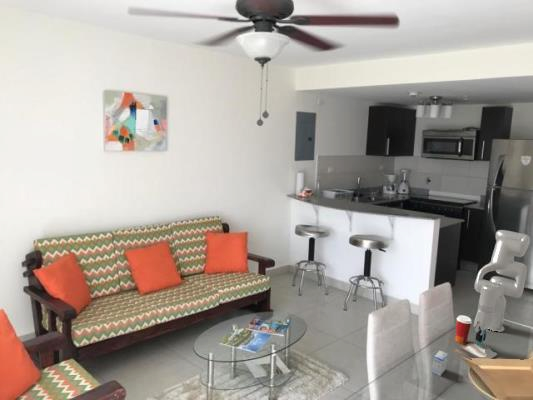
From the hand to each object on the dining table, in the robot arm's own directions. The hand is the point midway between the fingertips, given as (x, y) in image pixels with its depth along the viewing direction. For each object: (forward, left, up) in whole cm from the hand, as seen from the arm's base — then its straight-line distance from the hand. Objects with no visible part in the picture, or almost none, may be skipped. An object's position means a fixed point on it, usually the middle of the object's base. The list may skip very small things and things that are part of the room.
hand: (480, 340), depth 233 cm
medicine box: (+40, +1, -6) cm, 40 cm away
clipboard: (+6, +2, -5) cm, 8 cm away
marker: (0, 0, -3) cm, 3 cm away
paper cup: (+1, -10, -5) cm, 11 cm away
